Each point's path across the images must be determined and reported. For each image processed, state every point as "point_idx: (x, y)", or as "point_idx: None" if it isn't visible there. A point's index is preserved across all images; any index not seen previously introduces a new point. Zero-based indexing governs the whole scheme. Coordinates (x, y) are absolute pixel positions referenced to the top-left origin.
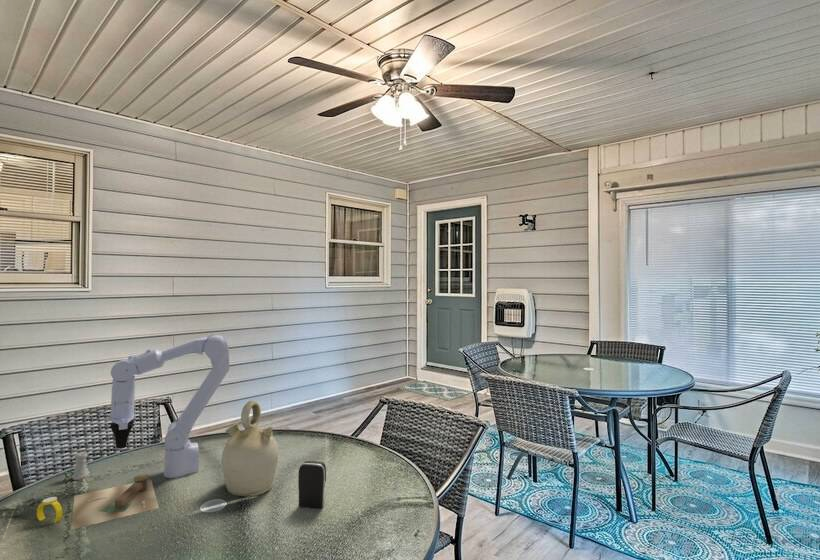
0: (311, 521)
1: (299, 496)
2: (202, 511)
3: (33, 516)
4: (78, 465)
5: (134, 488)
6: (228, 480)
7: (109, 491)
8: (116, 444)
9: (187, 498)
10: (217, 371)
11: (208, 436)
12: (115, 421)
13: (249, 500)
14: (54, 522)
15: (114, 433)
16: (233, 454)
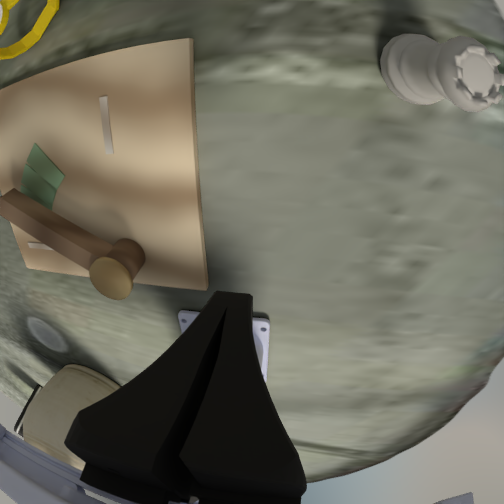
0: (13, 372)
1: (31, 395)
2: (28, 316)
3: None
4: (428, 55)
5: (53, 248)
6: (51, 383)
7: (160, 162)
8: (199, 313)
9: (74, 318)
10: None
11: (451, 411)
12: (6, 484)
13: (57, 368)
14: (20, 41)
15: (126, 387)
16: (24, 425)
